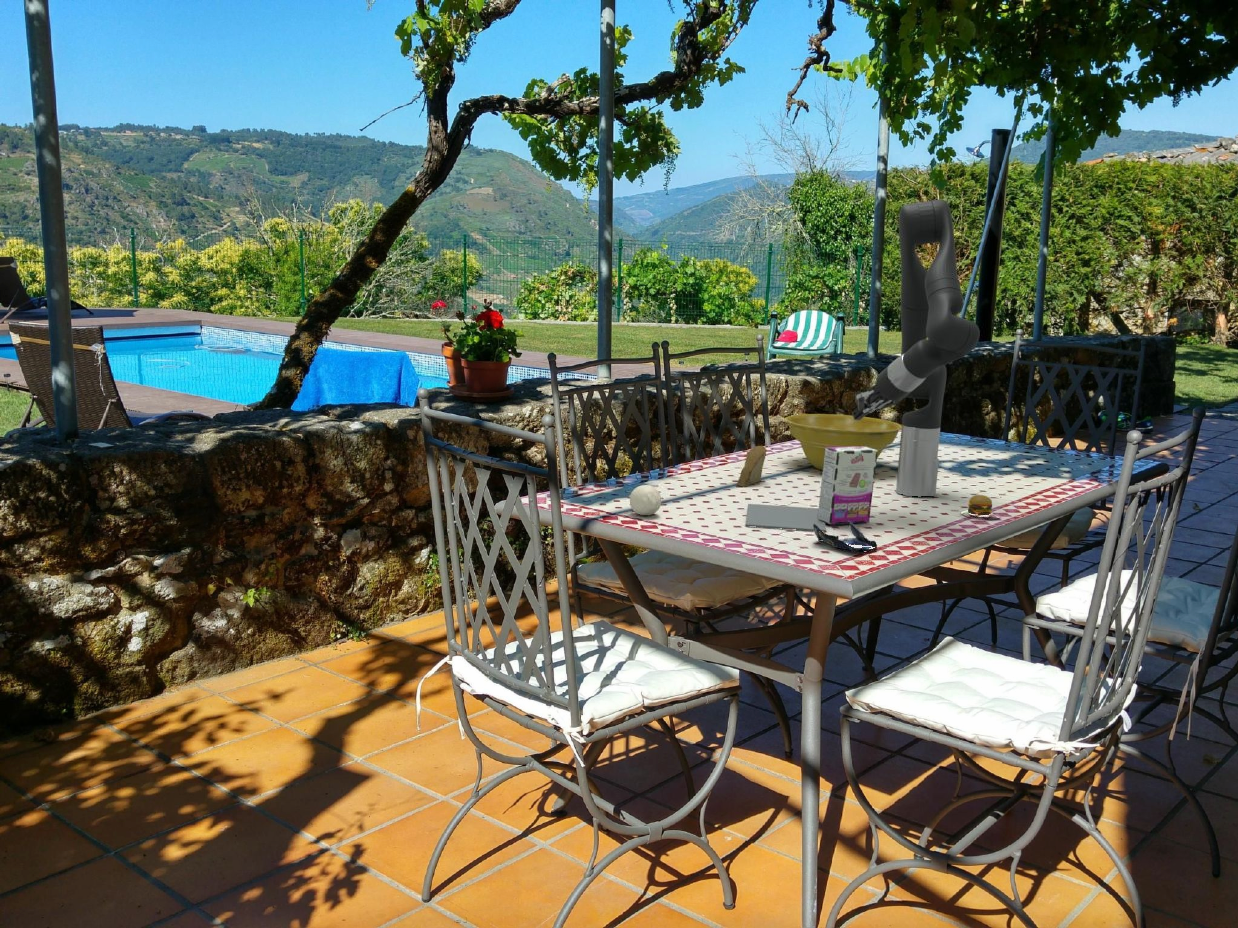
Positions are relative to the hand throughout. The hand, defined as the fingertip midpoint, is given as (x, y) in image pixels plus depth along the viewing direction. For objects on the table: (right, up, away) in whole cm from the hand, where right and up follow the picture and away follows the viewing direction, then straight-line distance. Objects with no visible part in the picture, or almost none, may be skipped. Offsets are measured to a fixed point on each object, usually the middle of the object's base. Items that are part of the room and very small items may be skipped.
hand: (855, 416), depth 239 cm
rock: (-22, -16, +27) cm, 38 cm away
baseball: (-49, -22, -11) cm, 55 cm away
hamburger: (+29, -24, 0) cm, 37 cm away
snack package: (-9, -28, -31) cm, 43 cm away
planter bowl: (+7, -12, +51) cm, 53 cm away
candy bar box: (-5, -24, -11) cm, 27 cm away
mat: (-18, -23, -9) cm, 31 cm away
